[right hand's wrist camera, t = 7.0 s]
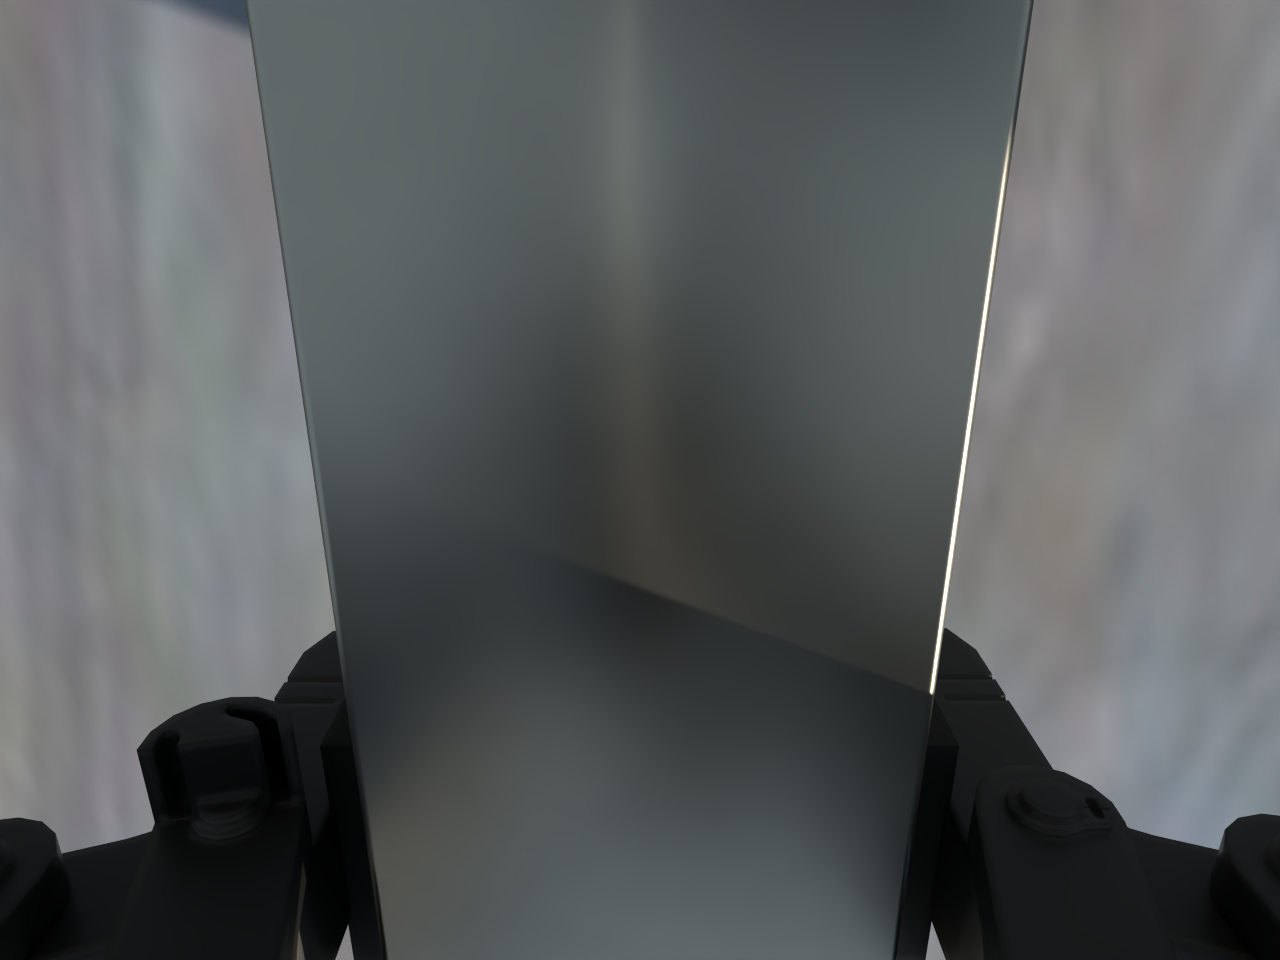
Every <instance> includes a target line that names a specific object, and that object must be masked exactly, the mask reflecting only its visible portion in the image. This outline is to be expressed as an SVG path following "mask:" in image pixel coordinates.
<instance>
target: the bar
mask: <svg viewBox="0 0 1280 960" xmlns="http://www.w3.org/2000/svg"><path fill="white" fill-rule="evenodd" d="M245 1H246V8H247V15H248V22H249V29H250V36H251V43H252V50H253V57H254V64H255V70H256V77H257V84H258V91H259V98H260V105H261V112H262V119H263V126H264V133H265V140H266V147H267V154H268V161H269V168H270V175H271V182H272V189H273V196H274V203H275V210H276V217H277V224H278V231H279V238H280V245H281V252H282V259H283V266H284V273H285V279H286V286H287V293H288V300H289V307H290V314H291V321H292V328H293V335H294V342H295V349H296V356H297V363H298V370H299V377H300V384H301V391H302V398H303V405H304V412H305V419H306V426H307V433H308V440H309V447H310V454H311V461H312V468H313V475H314V482H315V488H316V495H317V502H318V509H319V516H320V523H321V530H322V537H323V544H324V551H325V558H326V565H327V572H328V579H329V586H330V593H331V600H332V607H333V614H334V621H335V628H336V635H337V642H338V649H339V656H340V663H341V670H342V677H343V684H344V690H345V697H346V704H347V711H348V718H349V725H350V732H351V739H352V746H353V753H354V760H355V767H356V774H357V781H358V788H359V795H360V802H361V809H362V816H363V823H364V830H365V837H366V844H367V851H368V858H369V865H370V872H371V879H372V886H373V893H374V899H375V906H376V913H377V920H378V927H379V934H380V941H381V948H382V955H383V960H896V958H897V951H898V945H899V938H900V931H901V924H902V917H903V910H904V903H905V896H906V889H907V882H908V875H909V868H910V861H911V854H912V847H913V840H914V833H915V826H916V819H917V812H918V805H919V798H920V791H921V784H922V777H923V770H924V763H925V756H926V749H927V742H928V735H929V728H930V721H931V714H932V707H933V700H934V693H935V686H936V679H937V672H938V665H939V658H940V651H941V645H942V638H943V631H944V624H945V617H946V610H947V603H948V596H949V589H950V582H951V575H952V568H953V561H954V554H955V547H956V540H957V533H958V526H959V519H960V512H961V505H962V498H963V491H964V484H965V477H966V470H967V463H968V456H969V449H970V442H971V435H972V428H973V421H974V414H975V407H976V400H977V393H978V386H979V379H980V372H981V365H982V358H983V351H984V344H985V338H986V331H987V324H988V317H989V310H990V303H991V296H992V289H993V282H994V275H995V268H996V261H997V254H998V247H999V240H1000V233H1001V226H1002V219H1003V212H1004V205H1005V198H1006V191H1007V184H1008V177H1009V170H1010V163H1011V156H1012V149H1013V142H1014V135H1015V128H1016V121H1017V114H1018V107H1019V100H1020V93H1021V86H1022V79H1023V72H1024V65H1025V58H1026V51H1027V44H1028V38H1029V31H1030V24H1031V17H1032V10H1033V3H1034V0H245Z"/></svg>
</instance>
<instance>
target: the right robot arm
mask: <svg viewBox="0 0 1280 960" xmlns="http://www.w3.org/2000/svg"><path fill="white" fill-rule="evenodd" d="M137 753H138V757H139V761H140V765H141V769H142V773H143V777H144V781H145V785H146V789H147V793H148V797H149V801H150V805H151V809H152V813H153V817H154V821H155V825H154V827H153V830H152V831H151V832H148V833H145V834H142V835H138V836H135V837H132V838H128V839H124V840H120V841H116V842H111V843H107V844H102V845H98V846H93V847H89V848H85V849H80V850H76V851H71V852H67V853H63V854H62V853H61V850H60V847H59V844H58V840H57V837H56V834H55V833H54V832H53V831H52V830H51V829H50V828H49V827H48V826H46V825H45V824H44V823H43V822H41V821H35V820H30V819H24V818H11V819H2V820H0V960H335V959H336V956H337V953H338V950H339V948H340V945H341V942H342V939H343V937H344V934H345V931H346V929H347V926H348V925H349V931H350V938H351V944H352V950H353V956H354V960H383V955H382V948H381V941H380V934H379V927H378V920H377V913H376V906H375V899H374V893H373V886H372V879H371V872H370V865H369V858H368V851H367V844H366V837H365V830H364V823H363V816H362V809H361V802H360V795H359V788H358V781H357V774H356V767H355V760H354V753H353V746H352V739H351V732H350V725H349V718H348V711H347V704H346V697H345V690H344V684H343V677H342V670H341V663H340V656H339V649H338V642H337V635H336V631H333V632H331V633H330V634H328V635H327V636H326V637H324V638H323V639H322V640H320V641H319V642H317V643H316V644H315V645H313V646H312V647H311V648H309V649H308V650H306V651H305V652H304V653H303V654H302V656H301V658H300V659H299V661H298V662H297V664H296V665H295V667H294V669H293V670H292V672H291V673H290V675H289V676H288V682H285V683H284V684H283V686H282V687H281V689H280V690H279V692H278V694H277V695H276V697H275V701H271V700H267V699H263V698H260V697H229V698H225V699H220V700H216V701H211V702H207V703H202V704H199V705H197V706H195V707H192V708H190V709H188V710H185V711H183V712H181V713H178V714H176V715H174V716H172V717H171V718H169V719H168V720H166V721H165V722H164V723H162V724H161V725H159V726H158V727H157V728H155V729H154V730H152V731H151V732H150V733H149V734H148V736H147V737H146V738H145V740H144V741H143V742H142V744H141V745H140V746H139V747H138V749H137ZM931 921H932V923H933V926H934V929H935V931H936V934H937V937H938V939H939V942H940V945H941V948H942V950H943V953H944V956H945V959H946V960H1280V816H1277V815H1268V814H1257V815H1252V816H1246V817H1240V818H1238V819H1236V820H1235V821H1234V822H1233V823H1232V824H1231V825H1230V826H1228V827H1227V828H1226V829H1225V831H1224V835H1223V838H1222V841H1221V844H1220V848H1219V850H1216V849H1212V848H1207V847H1203V846H1198V845H1194V844H1189V843H1185V842H1181V841H1176V840H1172V839H1167V838H1163V837H1158V836H1154V835H1151V834H1147V833H1144V832H1140V831H1137V830H1134V829H1130V828H1128V827H1127V826H1126V823H1125V821H1124V820H1123V818H1122V817H1121V815H1120V814H1119V812H1118V811H1117V809H1116V807H1115V806H1114V804H1113V803H1112V802H1111V801H1110V800H1108V799H1107V798H1106V797H1105V796H1103V795H1102V794H1101V793H1100V792H1099V791H1097V790H1096V789H1095V788H1094V787H1092V786H1091V785H1089V784H1087V783H1085V782H1083V781H1081V780H1079V779H1077V778H1075V777H1073V776H1071V775H1069V774H1067V773H1064V772H1061V771H1057V770H1053V768H1052V767H1051V765H1050V764H1049V762H1048V761H1047V759H1046V758H1045V756H1044V754H1043V753H1042V751H1041V750H1040V748H1039V747H1038V745H1037V744H1036V742H1035V740H1034V739H1033V737H1032V736H1031V734H1030V733H1029V731H1028V730H1027V728H1026V727H1025V725H1024V723H1023V722H1022V720H1021V719H1020V717H1019V716H1018V714H1017V713H1016V711H1015V709H1014V708H1013V706H1012V705H1011V703H1010V702H1009V701H1006V699H1005V694H1004V692H1003V691H1002V689H1001V688H1000V686H999V685H998V683H997V681H996V680H995V679H992V674H991V672H990V671H989V669H988V667H987V666H986V664H985V663H984V661H983V660H982V658H981V657H980V655H979V653H978V652H977V650H976V649H974V648H973V647H972V646H970V645H969V644H968V643H966V642H965V641H963V640H962V639H961V638H959V637H958V636H957V635H955V634H954V633H952V632H951V631H950V630H948V629H947V628H944V631H943V638H942V645H941V651H940V658H939V665H938V672H937V679H936V686H935V693H934V700H933V707H932V714H931V721H930V728H929V735H928V742H927V749H926V756H925V763H924V770H923V777H922V784H921V791H920V798H919V805H918V812H917V819H916V826H915V833H914V840H913V847H912V854H911V861H910V868H909V875H908V882H907V889H906V896H905V903H904V910H903V917H902V924H901V931H900V938H899V945H898V951H897V958H896V960H925V959H926V953H927V946H928V940H929V934H930V927H931Z"/></svg>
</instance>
